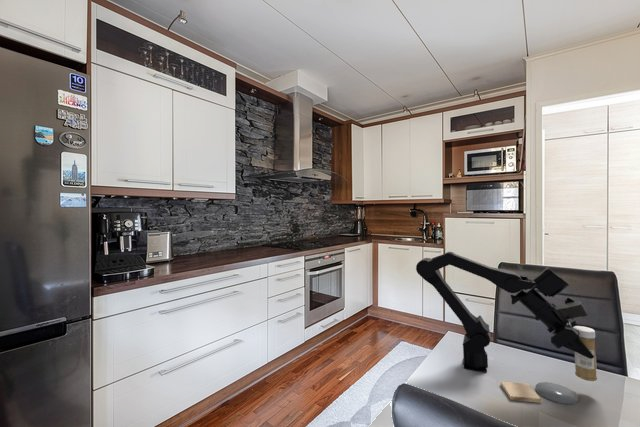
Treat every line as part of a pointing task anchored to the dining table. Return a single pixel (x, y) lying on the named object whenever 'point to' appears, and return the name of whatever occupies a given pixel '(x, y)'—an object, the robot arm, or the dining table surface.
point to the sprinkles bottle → (582, 363)
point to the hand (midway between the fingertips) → (591, 354)
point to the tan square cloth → (520, 392)
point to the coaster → (556, 393)
